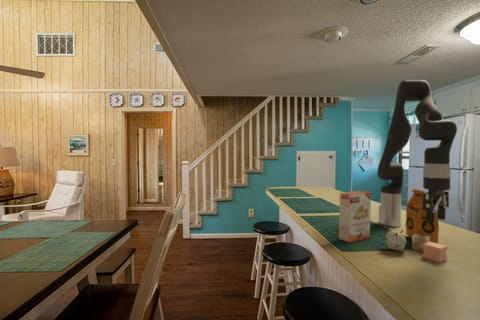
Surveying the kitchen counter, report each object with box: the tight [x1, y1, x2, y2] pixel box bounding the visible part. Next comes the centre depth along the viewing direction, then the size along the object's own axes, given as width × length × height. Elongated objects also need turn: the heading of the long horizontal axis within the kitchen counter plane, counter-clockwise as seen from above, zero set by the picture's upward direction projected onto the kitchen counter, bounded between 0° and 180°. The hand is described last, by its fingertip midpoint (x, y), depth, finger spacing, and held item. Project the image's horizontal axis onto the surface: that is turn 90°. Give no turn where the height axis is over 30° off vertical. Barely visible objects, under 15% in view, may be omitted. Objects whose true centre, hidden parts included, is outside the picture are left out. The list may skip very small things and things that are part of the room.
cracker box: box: [338, 190, 372, 244], centre depth 106 cm, size 14×6×21 cm, turn 118°
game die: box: [382, 228, 410, 254], centre depth 93 cm, size 9×8×10 cm
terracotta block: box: [423, 242, 448, 263], centre depth 86 cm, size 5×5×5 cm
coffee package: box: [404, 188, 440, 244], centre depth 104 cm, size 10×12×22 cm
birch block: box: [411, 234, 430, 252], centre depth 95 cm, size 5×5×5 cm
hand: (435, 221), depth 86 cm, fingers open, 8 cm apart
